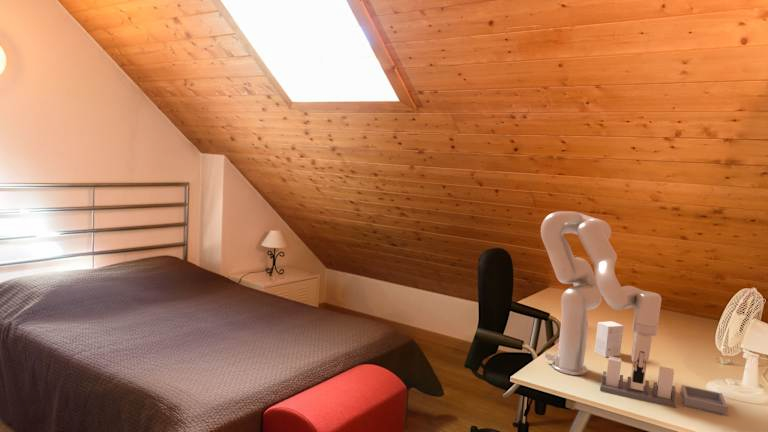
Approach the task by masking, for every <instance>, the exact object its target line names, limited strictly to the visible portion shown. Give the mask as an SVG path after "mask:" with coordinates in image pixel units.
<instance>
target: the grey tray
mask: <svg viewBox="0 0 768 432" xmlns="http://www.w3.org/2000/svg"><path fill="white" fill-rule="evenodd" d="M680 396H681V401H682V404H683V405H682V406H683V407H686V408H690V409H695V410H698V411H702V412H707V413H712V414H717V415H721V416H724V415H726V416H727V412H728V405H727V402H726V400H725V398H724V395H723V393H722V392H717V391H712V390H707V389H703V388H698V387H693V386H689V385H685V384H681V387H680Z"/></svg>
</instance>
